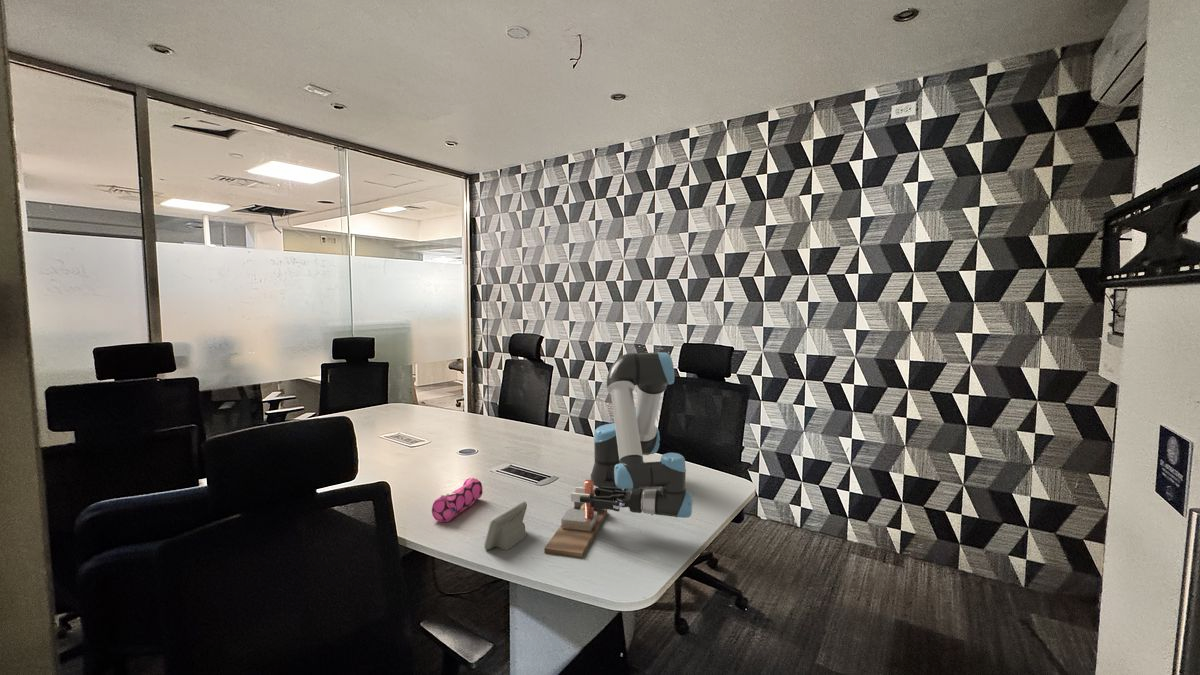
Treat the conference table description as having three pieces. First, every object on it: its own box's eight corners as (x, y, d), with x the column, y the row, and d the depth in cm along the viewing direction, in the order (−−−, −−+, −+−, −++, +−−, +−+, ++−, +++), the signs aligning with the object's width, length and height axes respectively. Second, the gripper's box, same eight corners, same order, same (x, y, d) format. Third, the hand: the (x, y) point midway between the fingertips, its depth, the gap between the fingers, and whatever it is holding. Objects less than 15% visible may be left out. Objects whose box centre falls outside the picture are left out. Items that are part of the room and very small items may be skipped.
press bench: (582, 558, 141) (581, 538, 141) (544, 552, 145) (543, 534, 144) (607, 513, 170) (607, 496, 170) (575, 509, 173) (575, 493, 173)
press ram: (590, 531, 154) (589, 486, 152) (561, 528, 156) (560, 483, 155) (597, 520, 161) (596, 477, 160) (569, 516, 164) (568, 474, 163)
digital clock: (518, 527, 161) (517, 497, 160) (536, 536, 155) (535, 504, 154) (477, 546, 149) (476, 513, 148) (494, 556, 143) (493, 522, 142)
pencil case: (455, 526, 163) (454, 497, 162) (430, 522, 165) (429, 495, 165) (486, 500, 183) (485, 474, 182) (464, 497, 186) (462, 472, 185)
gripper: (638, 524, 144) (565, 516, 150) (647, 500, 161) (581, 494, 167) (637, 500, 144) (564, 493, 150) (647, 479, 160) (581, 473, 166)
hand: (573, 493), depth 158 cm, fingers open, 4 cm apart
